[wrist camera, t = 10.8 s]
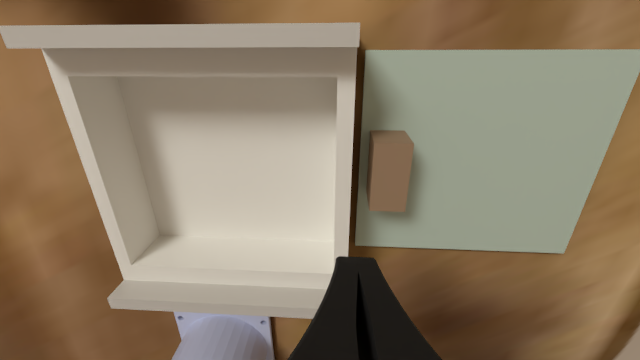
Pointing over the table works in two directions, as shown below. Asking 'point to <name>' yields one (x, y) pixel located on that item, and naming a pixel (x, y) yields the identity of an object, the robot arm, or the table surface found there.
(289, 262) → the box
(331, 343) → the robot arm
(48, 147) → the table surface
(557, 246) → the cover plate
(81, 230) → the table surface
